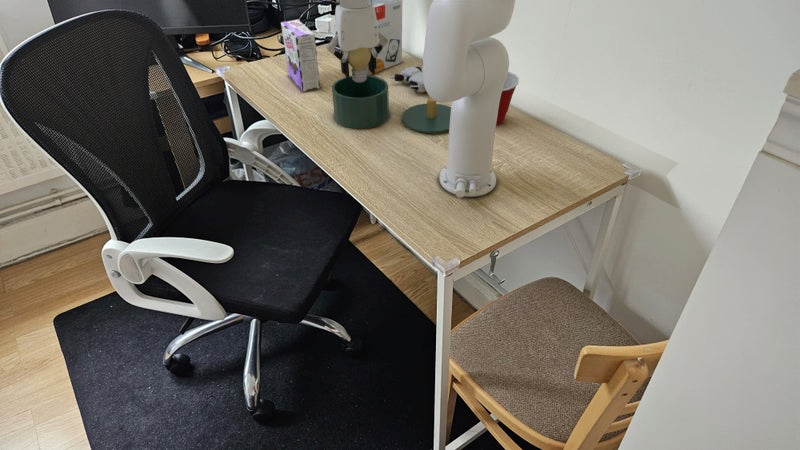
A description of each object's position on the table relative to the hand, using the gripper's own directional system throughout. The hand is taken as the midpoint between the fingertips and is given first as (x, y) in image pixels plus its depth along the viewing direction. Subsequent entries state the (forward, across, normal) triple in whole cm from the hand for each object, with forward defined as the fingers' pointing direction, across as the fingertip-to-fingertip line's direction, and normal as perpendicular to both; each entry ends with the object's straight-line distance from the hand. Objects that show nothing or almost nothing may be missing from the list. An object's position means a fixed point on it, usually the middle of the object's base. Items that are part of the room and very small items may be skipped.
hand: (359, 72), depth 132 cm
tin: (+12, 0, 0) cm, 12 cm away
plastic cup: (+12, -31, +16) cm, 37 cm away
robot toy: (+12, -22, -12) cm, 28 cm away
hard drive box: (+12, -15, -30) cm, 36 cm away
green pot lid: (+11, -16, +9) cm, 22 cm away
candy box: (+12, +10, -27) cm, 32 cm away
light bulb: (+2, 0, 0) cm, 2 cm away
